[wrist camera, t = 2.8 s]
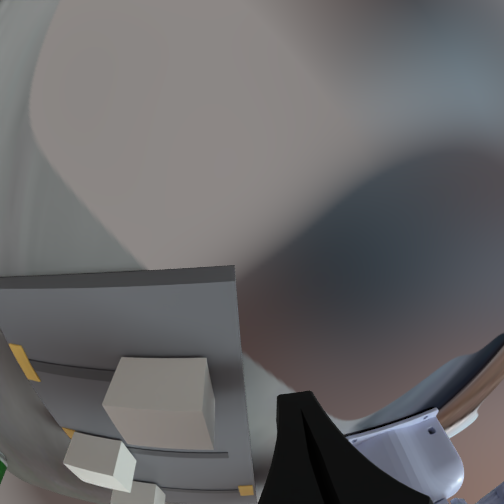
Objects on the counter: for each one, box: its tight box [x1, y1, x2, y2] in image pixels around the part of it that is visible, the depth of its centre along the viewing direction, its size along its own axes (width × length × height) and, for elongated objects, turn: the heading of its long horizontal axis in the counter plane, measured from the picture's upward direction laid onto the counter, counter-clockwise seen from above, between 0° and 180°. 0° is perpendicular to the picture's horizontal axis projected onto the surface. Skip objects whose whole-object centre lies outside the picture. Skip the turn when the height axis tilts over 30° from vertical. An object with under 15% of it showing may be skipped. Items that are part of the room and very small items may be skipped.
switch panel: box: [0, 265, 257, 504], centre depth 15 cm, size 14×26×2 cm, turn 3°
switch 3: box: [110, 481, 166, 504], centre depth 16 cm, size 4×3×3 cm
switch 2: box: [63, 432, 136, 493], centre depth 13 cm, size 4×3×3 cm
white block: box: [102, 357, 215, 450], centre depth 11 cm, size 4×3×3 cm
